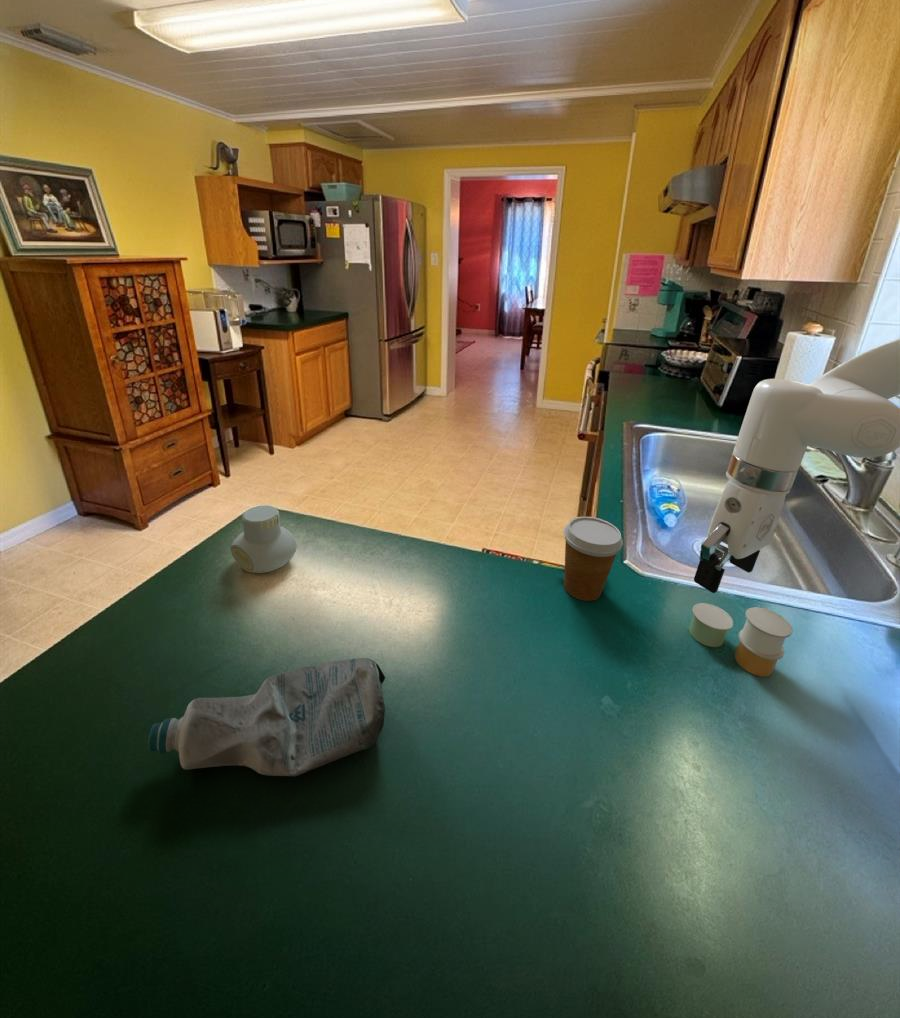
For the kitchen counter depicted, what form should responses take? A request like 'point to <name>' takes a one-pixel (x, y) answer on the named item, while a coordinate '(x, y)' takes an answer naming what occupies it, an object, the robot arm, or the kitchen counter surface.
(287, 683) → the detergent
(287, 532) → the air freshener
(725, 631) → the cylinder
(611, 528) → the disposable coffee cup
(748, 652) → the caramel pod
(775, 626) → the white pod
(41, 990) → the kitchen counter surface
